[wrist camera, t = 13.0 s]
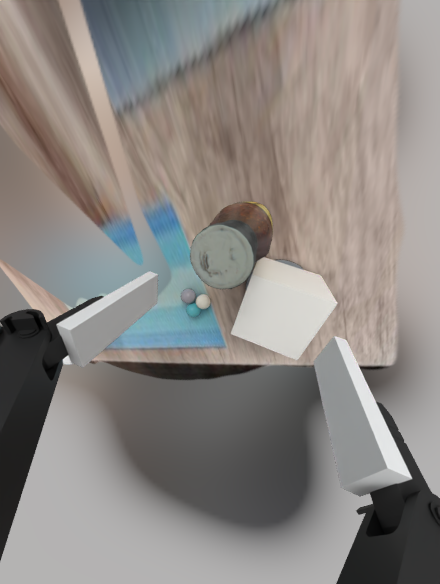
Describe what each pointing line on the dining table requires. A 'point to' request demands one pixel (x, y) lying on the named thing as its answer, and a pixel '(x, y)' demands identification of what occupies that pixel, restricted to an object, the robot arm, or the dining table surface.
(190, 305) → the teal marble
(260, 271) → the white block
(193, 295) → the smoky marble
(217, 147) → the dining table surface
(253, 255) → the sauce bottle
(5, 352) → the robot arm
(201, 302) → the cream marble
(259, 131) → the dining table surface
